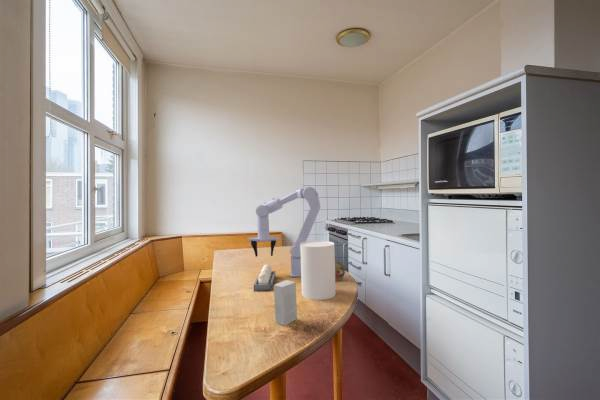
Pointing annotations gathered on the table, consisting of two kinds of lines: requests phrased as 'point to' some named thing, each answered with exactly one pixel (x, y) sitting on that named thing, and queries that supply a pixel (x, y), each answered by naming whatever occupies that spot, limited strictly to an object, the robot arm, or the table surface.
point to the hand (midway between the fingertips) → (264, 256)
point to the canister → (318, 270)
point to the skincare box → (285, 302)
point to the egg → (263, 278)
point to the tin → (339, 271)
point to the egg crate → (271, 275)
